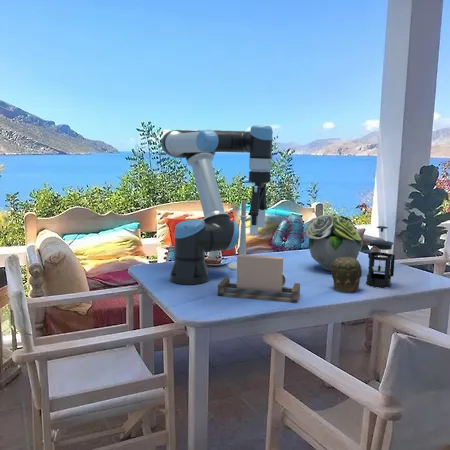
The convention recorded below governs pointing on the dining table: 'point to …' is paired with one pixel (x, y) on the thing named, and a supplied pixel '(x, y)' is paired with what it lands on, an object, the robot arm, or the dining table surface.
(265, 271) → the door panel
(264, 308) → the dining table surface
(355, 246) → the flower arrangement
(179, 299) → the dining table surface
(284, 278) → the drinking glass
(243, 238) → the candlestick
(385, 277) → the french press
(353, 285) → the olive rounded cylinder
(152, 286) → the dining table surface
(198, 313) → the dining table surface
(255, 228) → the robot arm
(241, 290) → the brown wooden rack
